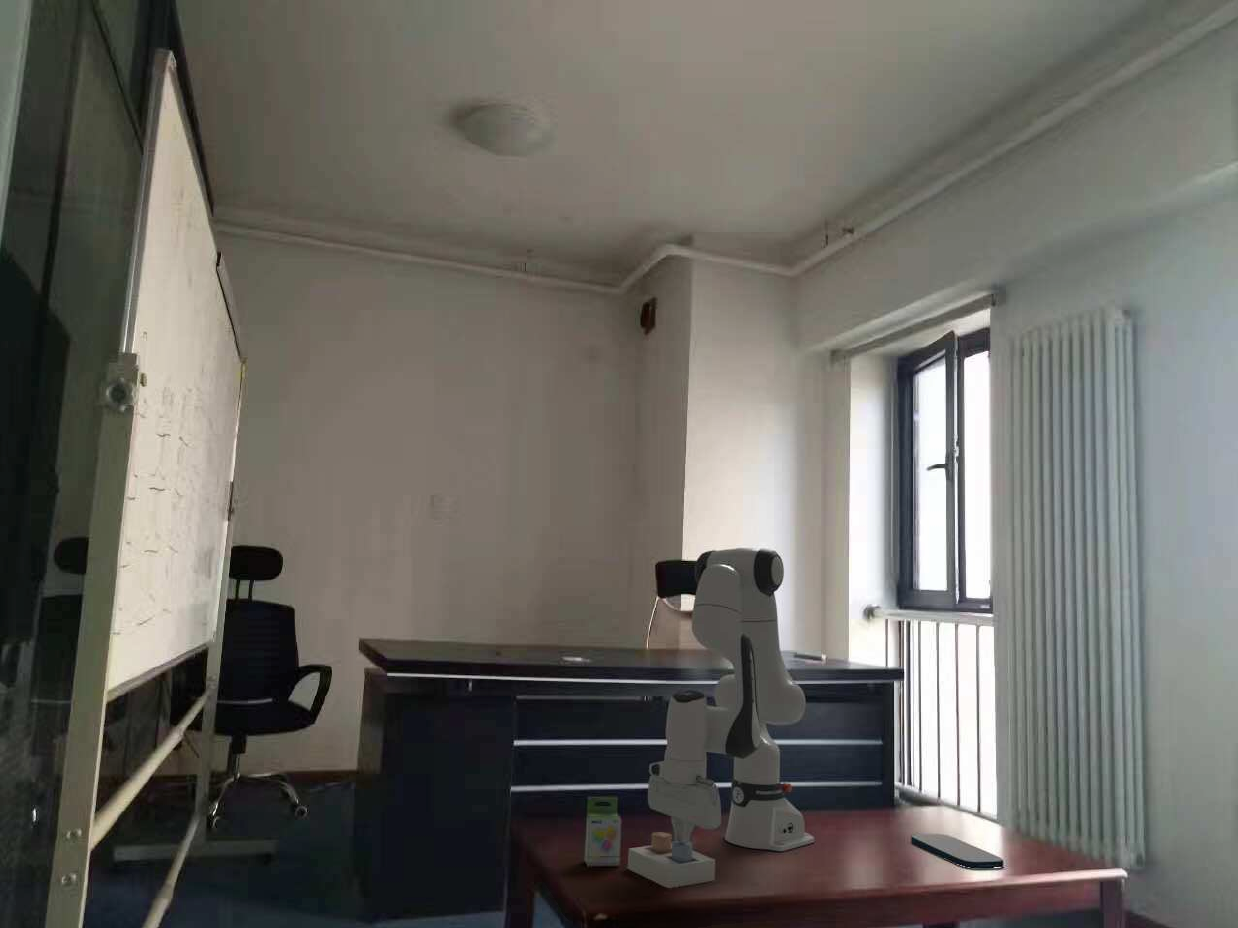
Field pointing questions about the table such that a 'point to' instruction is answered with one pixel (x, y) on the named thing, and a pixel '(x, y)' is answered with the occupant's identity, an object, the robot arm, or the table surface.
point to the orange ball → (661, 843)
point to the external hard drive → (956, 851)
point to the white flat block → (670, 867)
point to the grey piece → (682, 852)
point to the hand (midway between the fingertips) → (681, 841)
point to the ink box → (602, 833)
